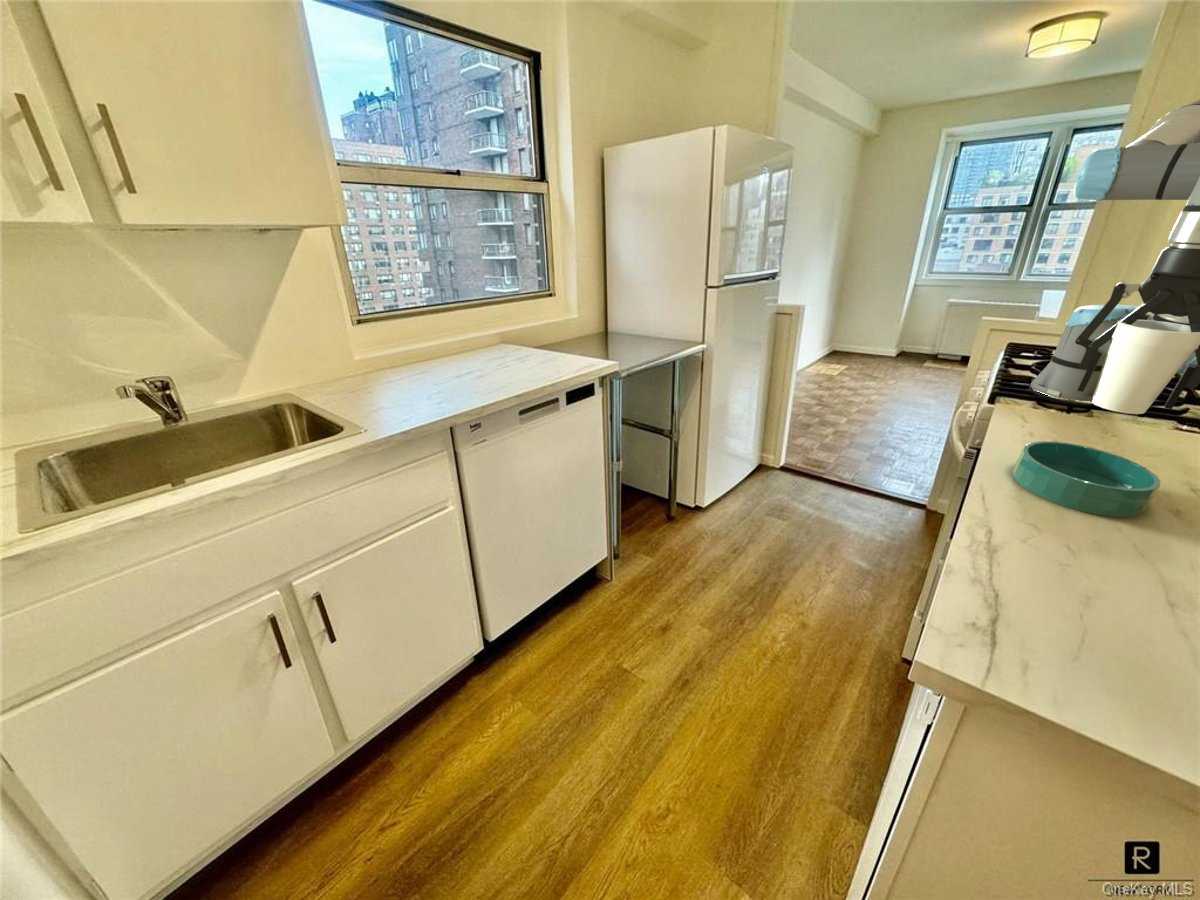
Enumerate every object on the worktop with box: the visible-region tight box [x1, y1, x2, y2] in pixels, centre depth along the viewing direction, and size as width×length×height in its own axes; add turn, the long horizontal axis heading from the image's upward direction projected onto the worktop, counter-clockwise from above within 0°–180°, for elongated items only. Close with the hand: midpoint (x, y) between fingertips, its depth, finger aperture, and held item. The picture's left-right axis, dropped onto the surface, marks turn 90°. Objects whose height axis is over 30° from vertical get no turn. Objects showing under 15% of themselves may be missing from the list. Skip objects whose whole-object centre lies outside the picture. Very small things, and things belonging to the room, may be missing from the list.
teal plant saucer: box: [1012, 440, 1162, 518], centre depth 84 cm, size 17×17×5 cm
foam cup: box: [1092, 320, 1200, 415], centre depth 75 cm, size 10×9×13 cm
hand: (1122, 397), depth 77 cm, fingers closed on foam cup, 9 cm apart
